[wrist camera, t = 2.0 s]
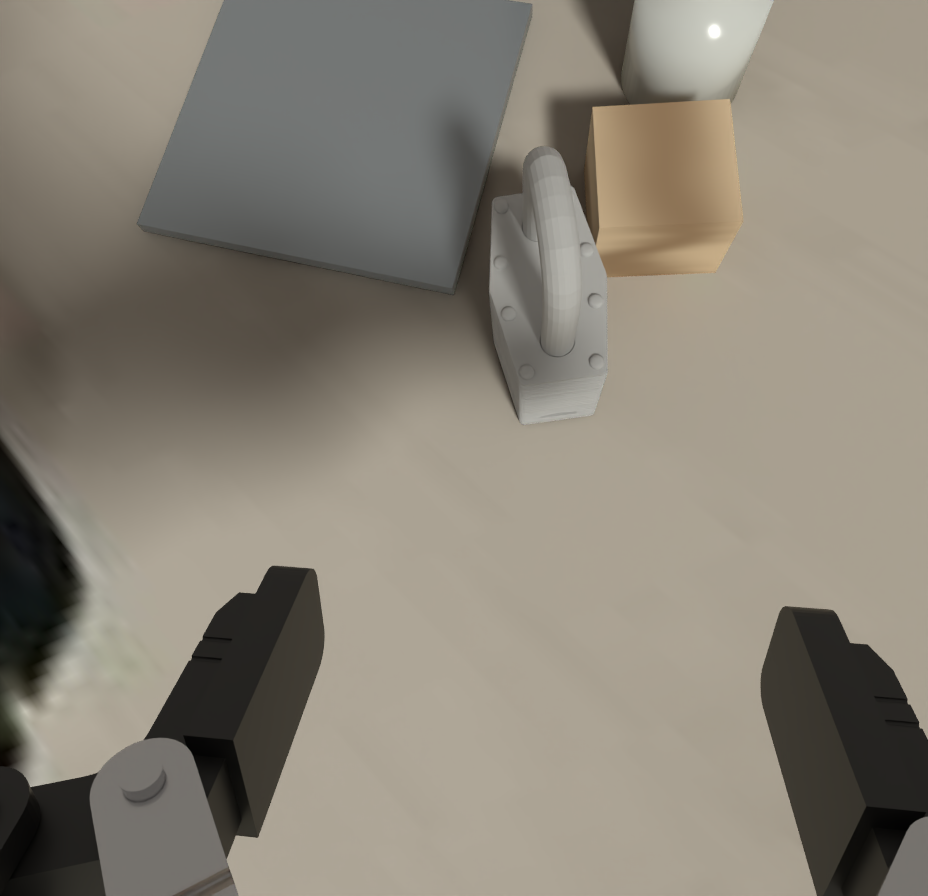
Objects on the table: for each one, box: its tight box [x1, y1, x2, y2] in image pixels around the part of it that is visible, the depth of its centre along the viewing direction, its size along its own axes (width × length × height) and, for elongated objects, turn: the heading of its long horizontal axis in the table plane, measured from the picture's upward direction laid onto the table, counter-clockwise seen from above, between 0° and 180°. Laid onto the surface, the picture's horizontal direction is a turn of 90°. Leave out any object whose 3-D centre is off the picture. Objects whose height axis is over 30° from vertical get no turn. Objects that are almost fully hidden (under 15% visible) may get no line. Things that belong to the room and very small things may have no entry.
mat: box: [137, 0, 532, 295], centre depth 32 cm, size 14×14×1 cm
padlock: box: [489, 146, 608, 425], centre depth 25 cm, size 7×4×10 cm, turn 7°
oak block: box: [584, 99, 743, 277], centre depth 28 cm, size 5×5×4 cm
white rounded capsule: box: [621, 0, 774, 105], centre depth 29 cm, size 5×5×5 cm
